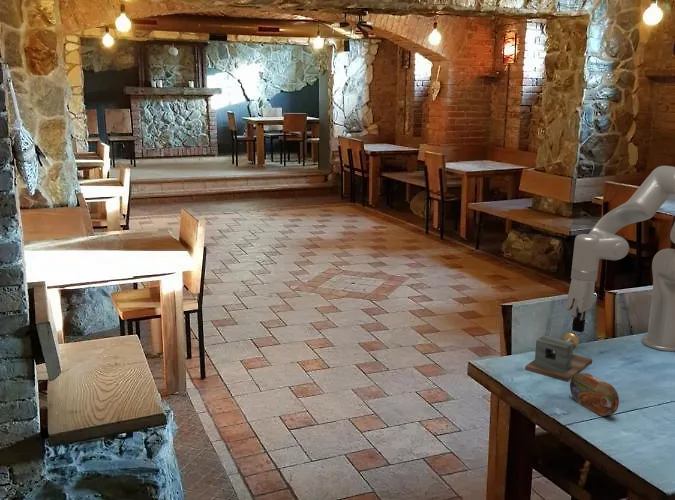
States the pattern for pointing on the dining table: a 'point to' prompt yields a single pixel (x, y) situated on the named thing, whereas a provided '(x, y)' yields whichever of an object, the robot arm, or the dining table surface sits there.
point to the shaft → (569, 338)
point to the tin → (594, 394)
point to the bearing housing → (557, 359)
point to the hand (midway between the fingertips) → (577, 330)
